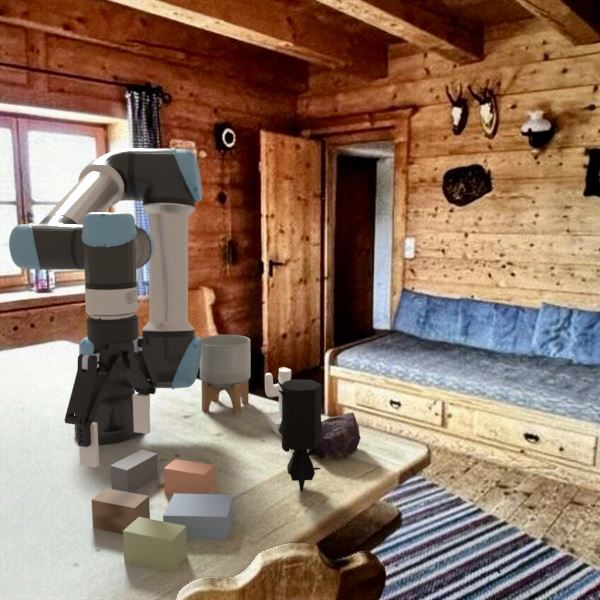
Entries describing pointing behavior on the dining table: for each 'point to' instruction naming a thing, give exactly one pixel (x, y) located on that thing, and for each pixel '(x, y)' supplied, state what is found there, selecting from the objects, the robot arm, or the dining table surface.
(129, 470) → the charcoal block
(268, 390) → the figurine
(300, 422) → the toy
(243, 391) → the planter
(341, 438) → the rock
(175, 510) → the slate slab
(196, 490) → the terracotta block
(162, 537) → the olive block
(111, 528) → the walnut block
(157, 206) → the robot arm
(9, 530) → the dining table surface
